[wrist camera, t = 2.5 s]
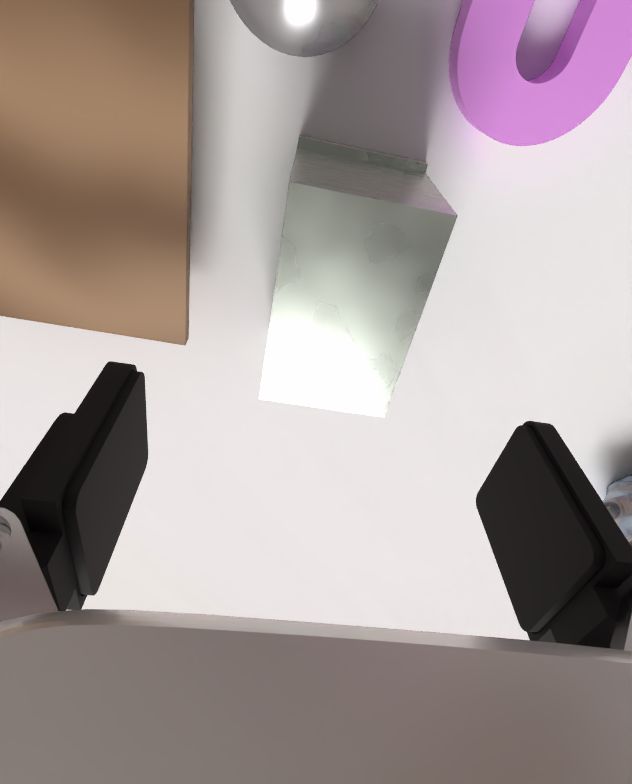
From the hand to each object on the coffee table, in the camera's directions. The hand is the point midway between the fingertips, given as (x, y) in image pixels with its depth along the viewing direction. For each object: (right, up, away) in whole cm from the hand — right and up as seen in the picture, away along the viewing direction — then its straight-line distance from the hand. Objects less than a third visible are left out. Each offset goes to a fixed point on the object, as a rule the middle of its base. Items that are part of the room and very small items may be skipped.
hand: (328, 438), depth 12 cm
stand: (-11, +11, +6) cm, 16 cm away
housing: (+1, +7, +9) cm, 11 cm away
